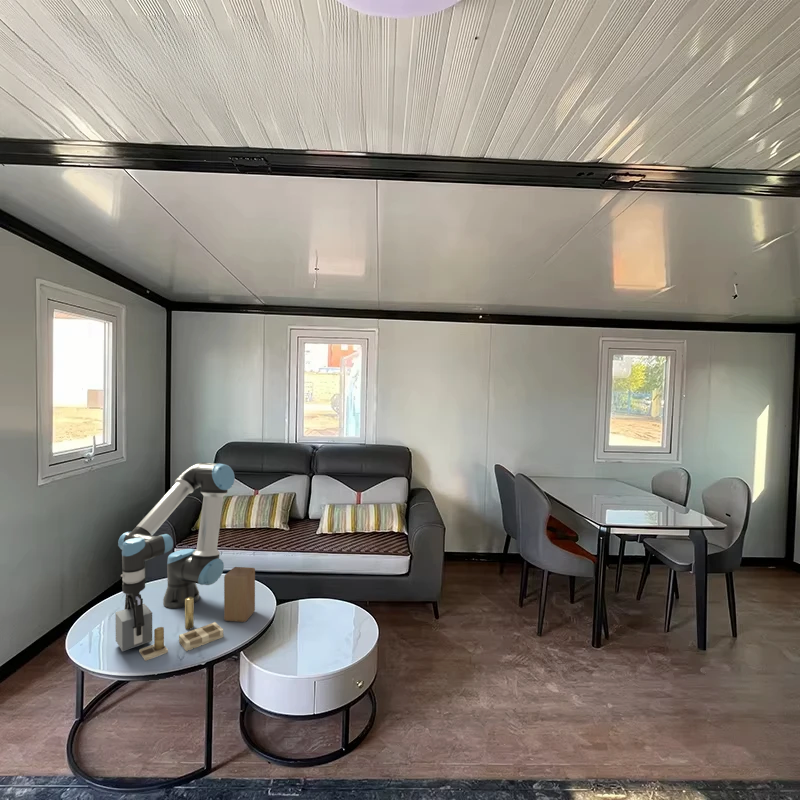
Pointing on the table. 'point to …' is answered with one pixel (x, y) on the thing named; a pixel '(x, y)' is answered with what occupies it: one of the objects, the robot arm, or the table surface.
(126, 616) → the block
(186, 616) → the pin
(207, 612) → the table surface
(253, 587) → the wooden block
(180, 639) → the board
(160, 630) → the tan base with post
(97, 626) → the table surface
